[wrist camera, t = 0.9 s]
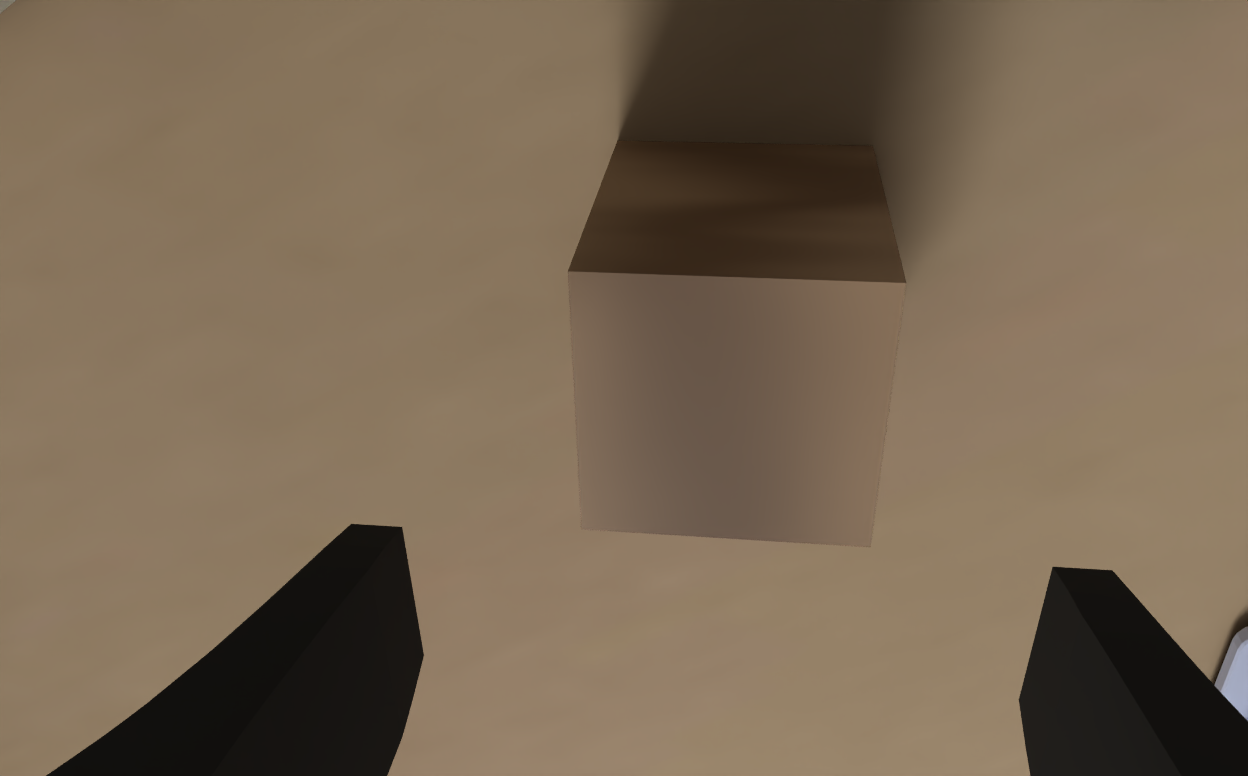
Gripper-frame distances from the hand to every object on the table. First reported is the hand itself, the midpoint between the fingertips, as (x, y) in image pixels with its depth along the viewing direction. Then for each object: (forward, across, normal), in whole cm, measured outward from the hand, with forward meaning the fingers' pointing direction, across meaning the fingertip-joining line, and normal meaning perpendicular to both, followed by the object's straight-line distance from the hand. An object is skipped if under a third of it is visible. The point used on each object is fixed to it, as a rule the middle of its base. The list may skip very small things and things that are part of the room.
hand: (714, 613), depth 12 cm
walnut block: (+10, 0, 0) cm, 10 cm away
